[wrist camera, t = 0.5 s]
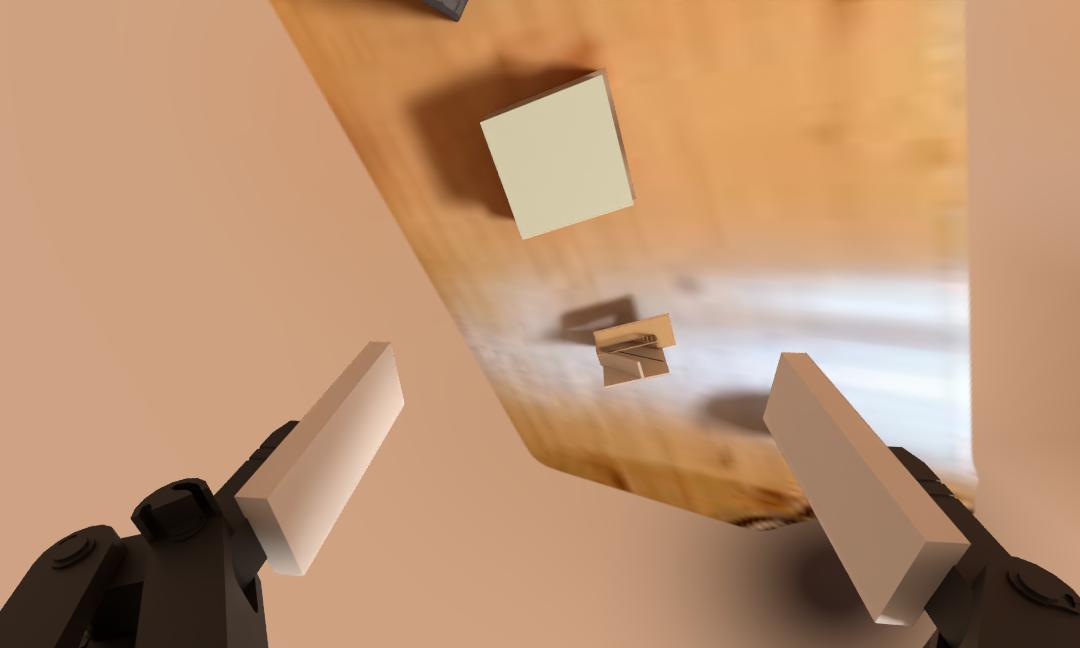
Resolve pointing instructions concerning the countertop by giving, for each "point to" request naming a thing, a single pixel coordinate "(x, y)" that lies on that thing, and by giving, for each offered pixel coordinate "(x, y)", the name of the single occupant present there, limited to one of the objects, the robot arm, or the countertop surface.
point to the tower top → (559, 159)
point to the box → (448, 7)
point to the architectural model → (634, 350)
